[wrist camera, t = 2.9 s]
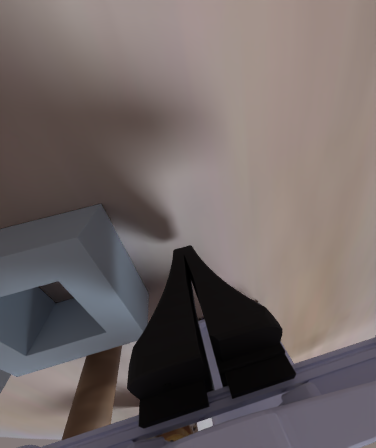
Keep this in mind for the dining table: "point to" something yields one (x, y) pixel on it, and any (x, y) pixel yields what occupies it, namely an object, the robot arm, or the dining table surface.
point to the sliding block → (74, 283)
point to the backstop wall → (3, 379)
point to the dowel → (94, 393)
